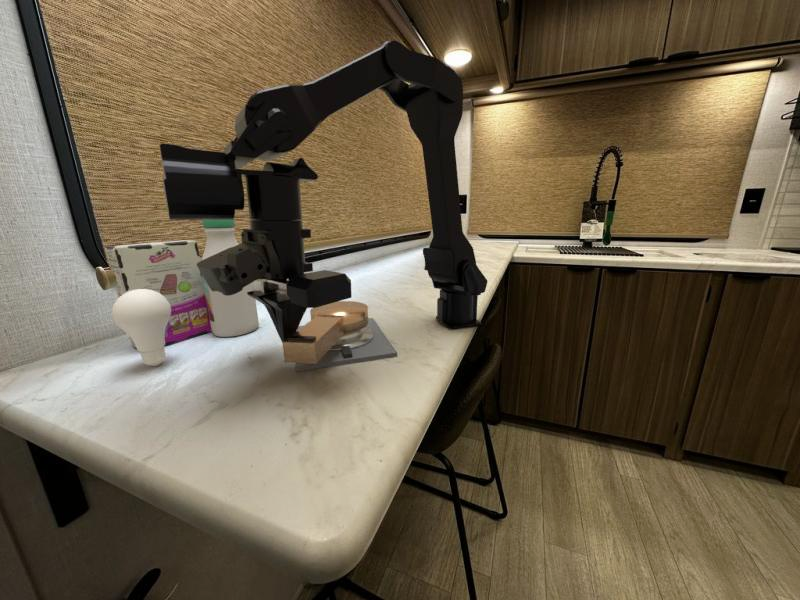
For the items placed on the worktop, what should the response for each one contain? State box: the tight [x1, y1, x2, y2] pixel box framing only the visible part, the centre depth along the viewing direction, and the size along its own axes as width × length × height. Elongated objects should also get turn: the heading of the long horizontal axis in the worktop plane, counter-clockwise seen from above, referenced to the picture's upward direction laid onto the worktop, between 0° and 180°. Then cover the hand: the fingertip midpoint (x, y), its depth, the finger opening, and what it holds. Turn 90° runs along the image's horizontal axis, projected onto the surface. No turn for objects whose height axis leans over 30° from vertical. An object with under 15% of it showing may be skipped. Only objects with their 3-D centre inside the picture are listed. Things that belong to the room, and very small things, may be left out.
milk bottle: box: [201, 219, 260, 338], centre depth 55 cm, size 8×8×20 cm
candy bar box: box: [103, 239, 212, 348], centre depth 52 cm, size 11×5×16 cm, turn 148°
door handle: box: [281, 300, 369, 364], centre depth 46 cm, size 18×9×3 cm, turn 171°
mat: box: [295, 317, 398, 372], centre depth 51 cm, size 14×17×1 cm
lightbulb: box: [111, 289, 171, 367], centre depth 43 cm, size 6×6×11 cm
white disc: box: [329, 327, 373, 351], centre depth 51 cm, size 10×10×2 cm
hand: (287, 344), depth 41 cm, fingers closed
